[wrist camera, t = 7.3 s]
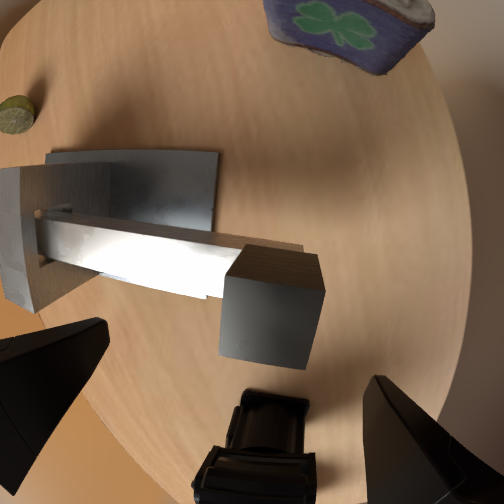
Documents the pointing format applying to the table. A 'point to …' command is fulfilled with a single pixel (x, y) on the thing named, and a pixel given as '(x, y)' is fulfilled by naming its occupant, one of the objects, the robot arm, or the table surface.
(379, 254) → the table surface
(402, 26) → the flask
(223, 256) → the shaft
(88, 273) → the block
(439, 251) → the table surface
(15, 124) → the lime
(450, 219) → the table surface
